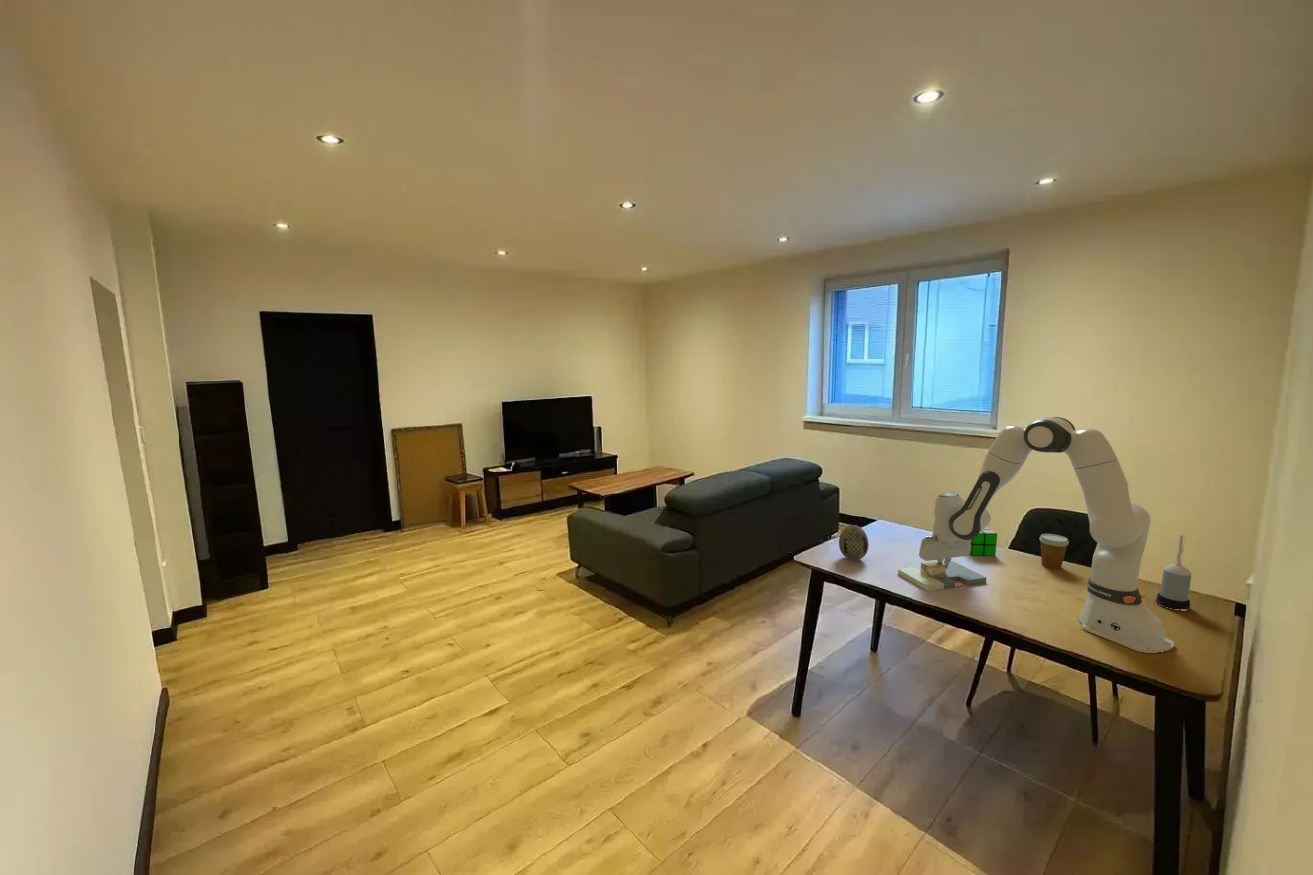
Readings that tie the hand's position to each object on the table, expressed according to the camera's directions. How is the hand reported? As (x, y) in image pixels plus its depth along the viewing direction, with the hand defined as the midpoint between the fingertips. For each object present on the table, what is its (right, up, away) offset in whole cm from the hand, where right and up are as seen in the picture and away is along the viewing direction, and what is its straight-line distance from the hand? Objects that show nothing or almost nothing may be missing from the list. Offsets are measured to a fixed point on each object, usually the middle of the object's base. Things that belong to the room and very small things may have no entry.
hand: (943, 568), depth 203 cm
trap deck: (-1, -4, 0) cm, 4 cm away
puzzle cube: (+29, +1, +26) cm, 39 cm away
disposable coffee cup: (+48, -1, +9) cm, 49 cm away
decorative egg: (-27, -1, +20) cm, 34 cm away
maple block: (-5, -2, -1) cm, 5 cm away
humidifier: (+64, -7, -25) cm, 69 cm away
